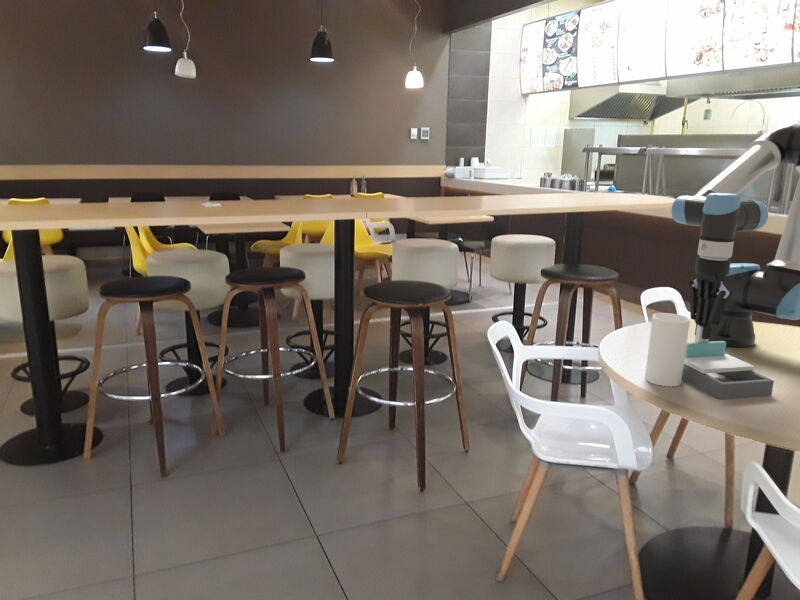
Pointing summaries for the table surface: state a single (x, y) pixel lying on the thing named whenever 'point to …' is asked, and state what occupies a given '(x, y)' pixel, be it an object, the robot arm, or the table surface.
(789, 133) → the robot arm
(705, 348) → the cover
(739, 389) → the grey shallow rectangular tray
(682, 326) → the cup
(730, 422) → the table surface
